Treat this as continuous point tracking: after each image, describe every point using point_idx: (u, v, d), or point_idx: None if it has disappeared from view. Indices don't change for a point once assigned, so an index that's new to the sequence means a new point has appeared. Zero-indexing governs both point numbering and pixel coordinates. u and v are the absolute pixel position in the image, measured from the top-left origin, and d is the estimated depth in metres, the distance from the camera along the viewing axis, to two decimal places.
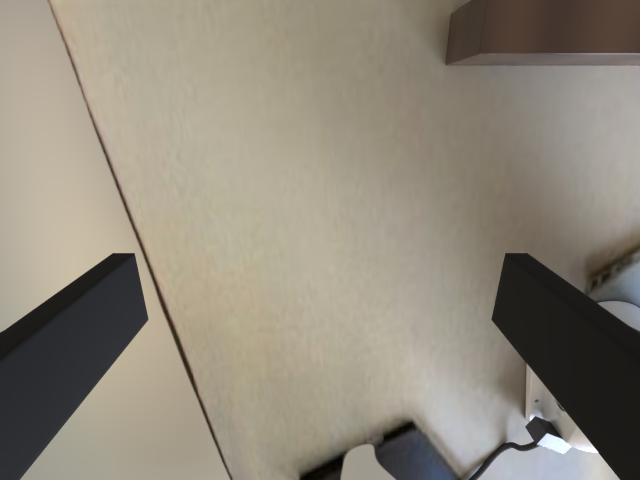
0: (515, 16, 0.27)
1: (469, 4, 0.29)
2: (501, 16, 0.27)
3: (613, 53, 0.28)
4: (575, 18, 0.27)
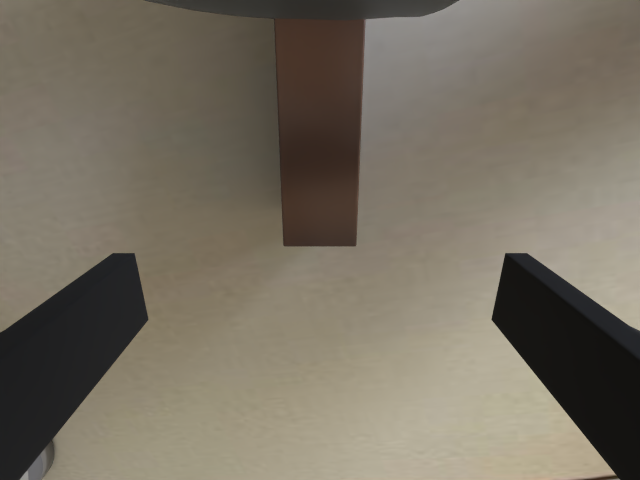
0: (313, 209, 0.21)
1: None
2: (314, 227, 0.21)
3: (362, 50, 0.18)
4: (315, 126, 0.19)
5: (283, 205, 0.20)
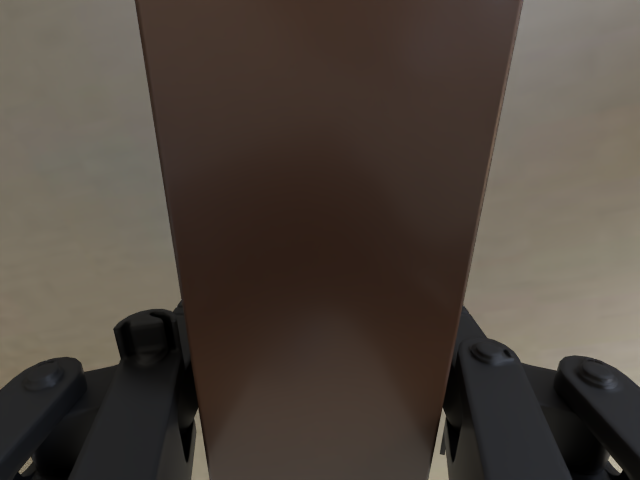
0: (300, 411, 0.06)
1: None
2: (302, 453, 0.07)
3: None
4: (307, 151, 0.05)
5: (201, 400, 0.06)
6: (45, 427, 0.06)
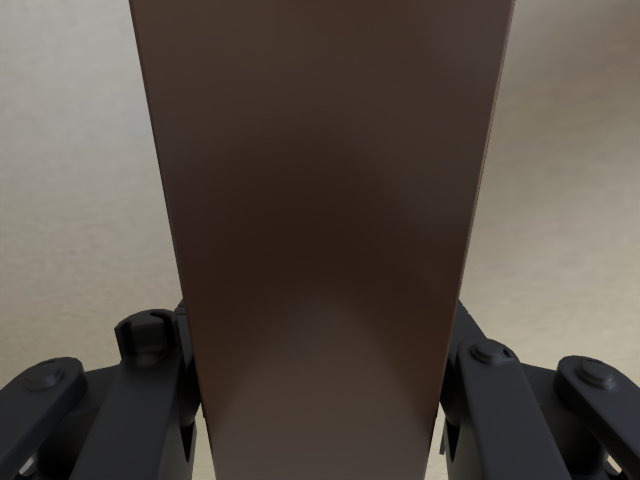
0: (301, 408, 0.07)
1: None
2: (303, 449, 0.07)
3: None
4: (303, 159, 0.05)
5: (204, 399, 0.06)
6: (45, 427, 0.06)
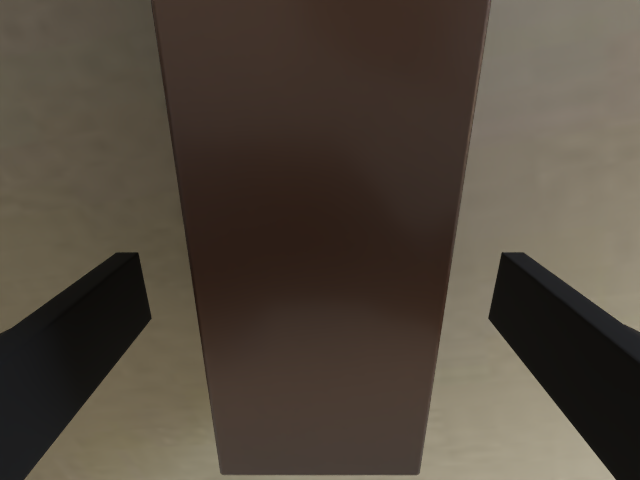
0: (301, 394, 0.07)
1: None
2: (304, 435, 0.07)
3: None
4: (304, 155, 0.05)
5: (210, 385, 0.07)
6: None
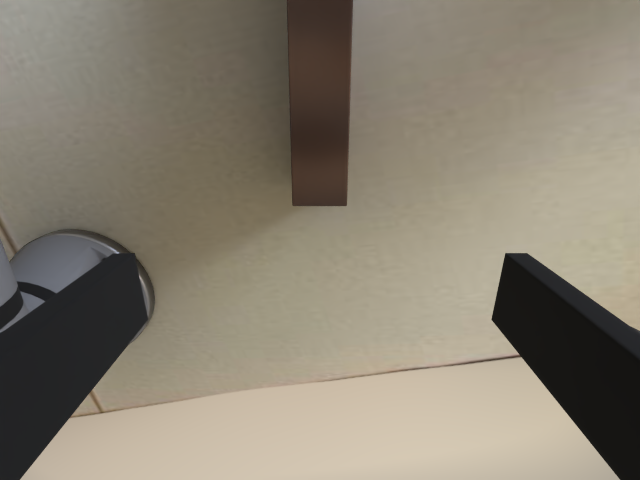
0: (315, 177, 0.28)
1: None
2: (315, 191, 0.28)
3: (350, 61, 0.25)
4: (316, 116, 0.26)
5: (292, 174, 0.28)
6: None
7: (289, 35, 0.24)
